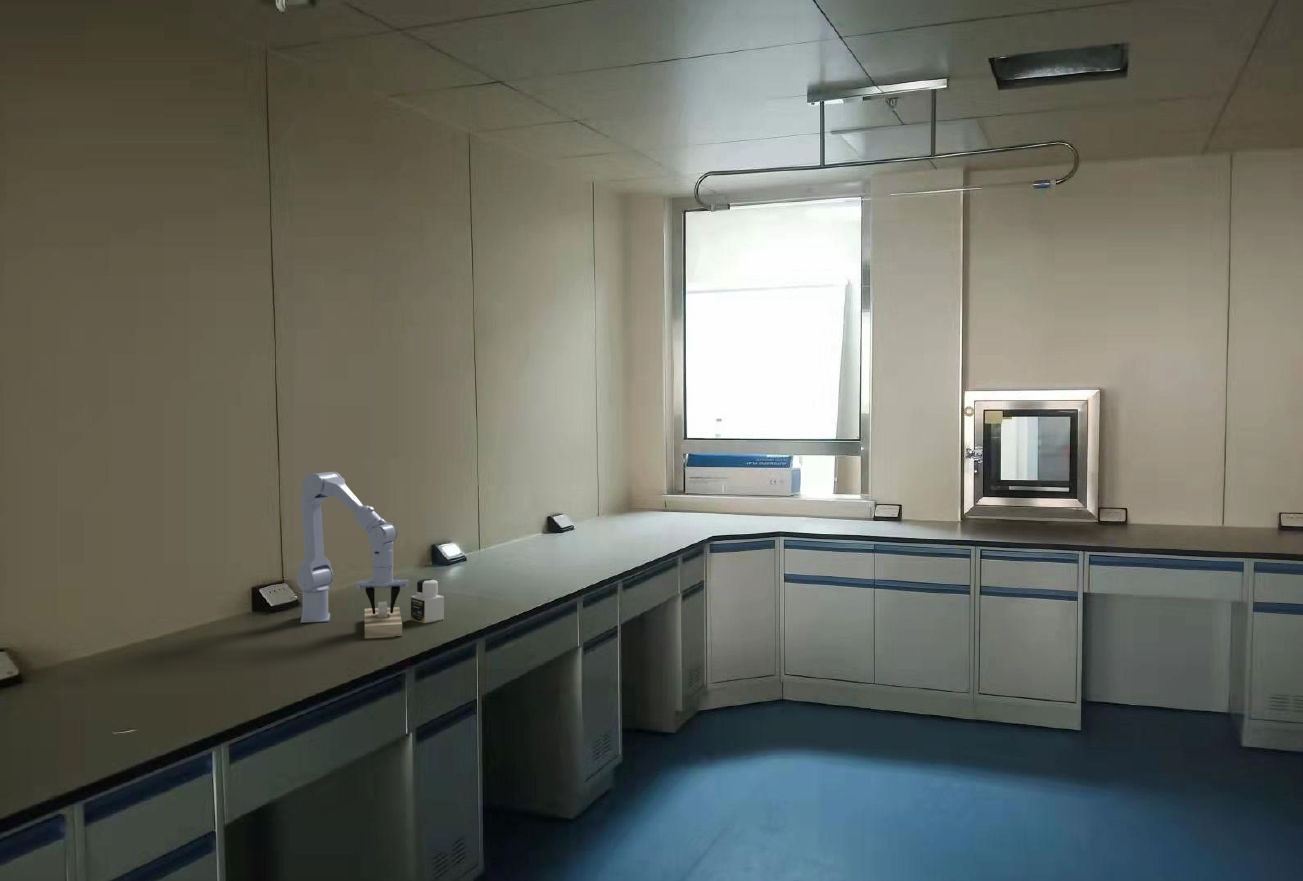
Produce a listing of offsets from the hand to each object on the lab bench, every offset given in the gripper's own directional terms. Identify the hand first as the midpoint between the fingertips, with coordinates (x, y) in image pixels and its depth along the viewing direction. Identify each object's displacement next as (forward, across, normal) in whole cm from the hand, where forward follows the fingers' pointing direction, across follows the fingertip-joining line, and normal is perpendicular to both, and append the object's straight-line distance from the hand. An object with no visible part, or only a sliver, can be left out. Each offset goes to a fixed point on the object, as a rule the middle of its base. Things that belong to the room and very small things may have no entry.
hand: (382, 612), depth 288 cm
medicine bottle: (+5, +13, +8) cm, 16 cm away
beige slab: (+4, 0, 0) cm, 4 cm away
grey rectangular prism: (+4, 0, 0) cm, 4 cm away
